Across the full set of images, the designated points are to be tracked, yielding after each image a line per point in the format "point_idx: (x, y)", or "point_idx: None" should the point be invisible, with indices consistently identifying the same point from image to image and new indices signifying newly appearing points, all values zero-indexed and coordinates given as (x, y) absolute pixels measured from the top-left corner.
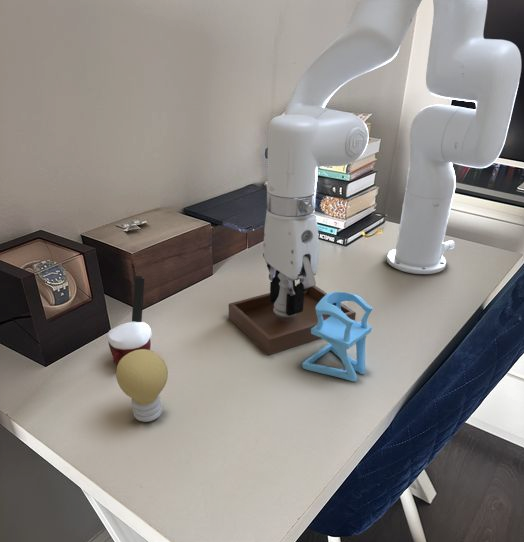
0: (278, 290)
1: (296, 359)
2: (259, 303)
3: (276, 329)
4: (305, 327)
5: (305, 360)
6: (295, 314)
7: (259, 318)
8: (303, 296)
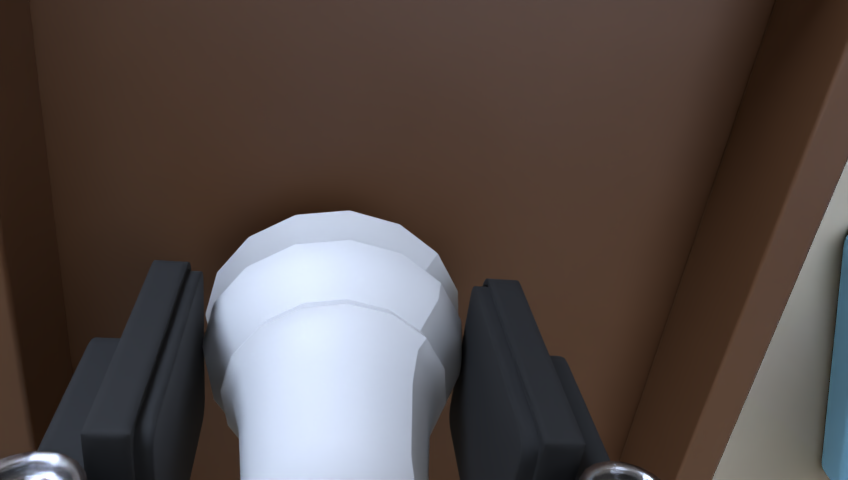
0: (178, 452)
1: (746, 452)
2: (57, 405)
3: (449, 427)
4: (732, 417)
5: (844, 475)
6: (456, 298)
7: (236, 444)
8: (560, 391)
